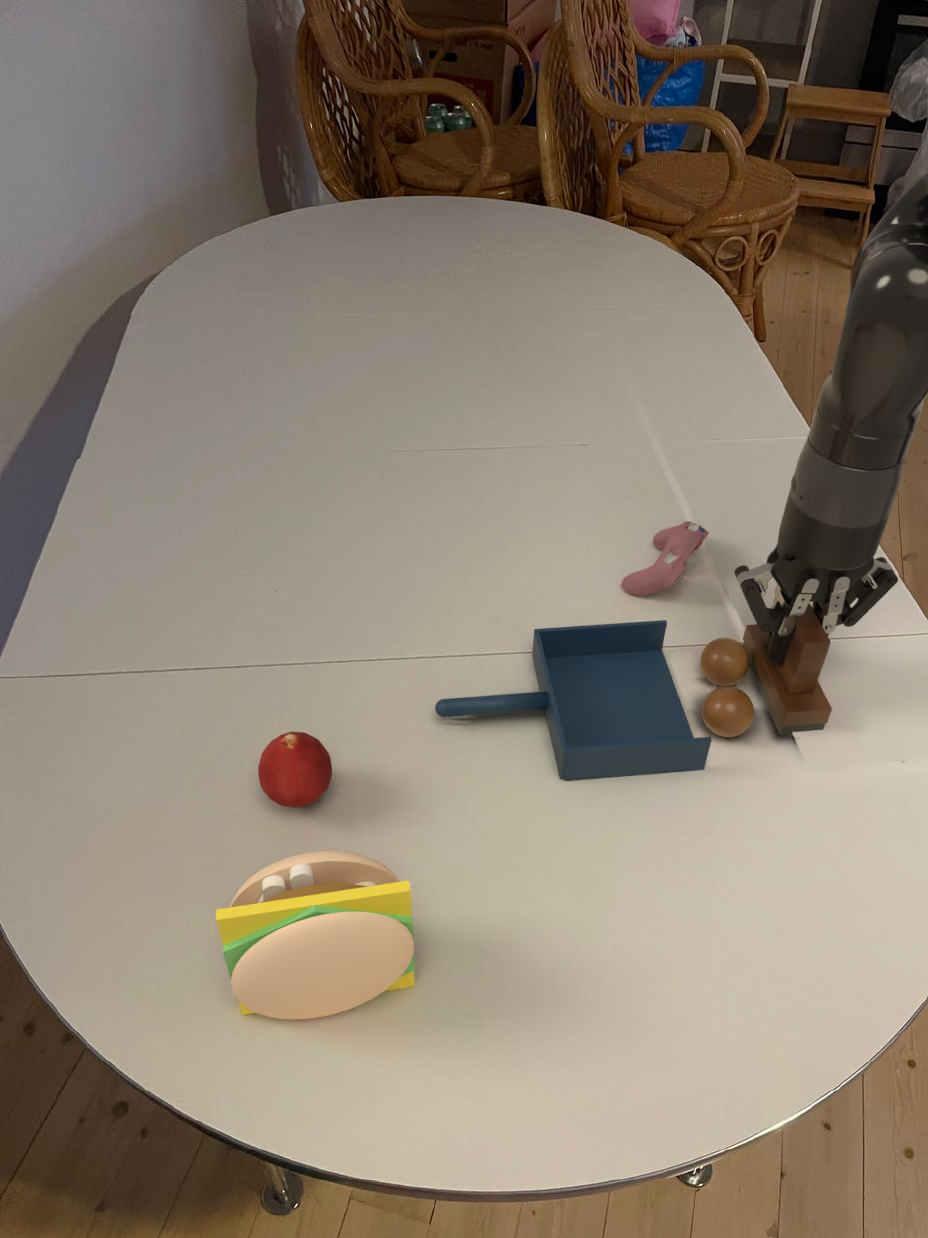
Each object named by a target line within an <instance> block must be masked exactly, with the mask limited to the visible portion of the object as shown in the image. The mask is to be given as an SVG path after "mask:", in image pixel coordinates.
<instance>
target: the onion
mask: <svg viewBox="0 0 928 1238" xmlns="http://www.w3.org/2000/svg"><path fill="white" fill-rule="evenodd" d="M260 754H261V755H260V758H259V763H258V766H257V771H258V773H257V774H258V779H259V784H260V788H261V789H262V791H263V793H264V794H265V795H266V797H267V798H268V799H269V800H270V801H272V802H274V803H276V804H278V805H280V806H282V807H288V808H298V807H299V808H300V807H306V806H309V805H310V804H312V803H314V802H317V801H319V799H320V798H321V797H322V796H323V795H324V794H325V792H326V791H327V790H328V789H329V786H330V783H331V780H332V775H333V766H332V759H331V755H330V752H329V751H328V750H327V748H326V747H325V746H324V744H323V743H322V742H321V741H320V740H319V738H317V737H315V736H313V735H311V734H309V733H307V732H304V731H288V732H285V733H282V734H280V735H278V736H277V737H275V738H273V739H272V740H270V742H269V743H268V744H267V745H266V746H265V748H264V749H263V750H262V753H260Z"/></svg>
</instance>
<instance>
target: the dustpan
mask: <svg viewBox="0 0 928 1238" xmlns="http://www.w3.org/2000/svg"><path fill="white" fill-rule="evenodd" d="M667 626H668V621H667V620H666V619H662V620H661V619H659V620H647V621H632V622H618V623H617V622H616V623H601V624H588V625H587V624H586V625H572V626H558V627H557V626H556V627H544V628H543V627H542V628H534V629H533V640H532V642H533V643H532V651H531V653H532V654H531V657H532V662H533V667H534V671H535V674H536V679H537V685H538V688H539V691H534V692H519V693H517V692H516V693H504V694H491V695H478V696H477V695H475V696H464V697H451V698H441V699H439V700H438V701H437V702H436V703H435V705H434V710H435V713H436V715H437V716H438V717H440V718H453V717H454V718H455V717H466V716H467V717H469V716H481V715H482V716H483V715H494V714H495V715H496V714H506V713H507V714H509V713H520V712H534V711H535V712H536V711H544V713H545V719H546V724H547V727H548V732H549V736H550V740H551V744H552V750H553V752H554V758H555V764H556V766H557V771H558V775H559V779H560V780H564V782H569V781H582V780H583V781H584V780H594V779H595V780H596V779H606V778H618V777H620V778H621V777H631V776H643V775H644V776H645V775H655V774H657V775H658V774H667V773H668V774H669V773H681V772H682V773H683V772H693V771H703V770H704V771H705V768H706V763H707V759H708V755H709V751H710V748H711V744H712V738H711V736H703V737H694V735H693V734H694V733H693V732H692V729H691V726H690V724H689V721H688V718H687V715H686V712H685V710H684V707H683V704H682V702H681V699H680V696H679V693H678V690H677V688H676V685H675V682H674V679H673V677H672V674H671V670H670V668H669V666H668V662H667V660H666V657H665V654H664V652H663V646H664V641H665V637H666V630H667ZM605 777H606V778H605Z"/></svg>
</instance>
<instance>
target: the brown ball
mask: <svg viewBox="0 0 928 1238" xmlns="http://www.w3.org/2000/svg"><path fill="white" fill-rule="evenodd" d="M699 665H700V670H701V672H702V674H703V675H704V677H705V678H706V679H707V680H708V681H709V682H711V683H712V684H714V685H717V686H719V687H723V686H734V685H737V684H738V683H740V682H741V681H742V680H744V678H746V676H747V675H748V672H749V670H750V667H749V666H750V658H749V654H748V652H747V650H746V649H745V647H744V646H743V643H741V642H740V641H738V640H736V639H733V638H730V637H718V638H716V639H713V640H712V641H710V642H709V643H708V644H706V646H704V648H703V650H702V652H701V653H700V659H699Z"/></svg>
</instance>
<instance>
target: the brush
mask: <svg viewBox="0 0 928 1238" xmlns="http://www.w3.org/2000/svg"><path fill="white" fill-rule="evenodd" d="M775 597H776V596H774V599H773V603H774V600H775ZM773 603H772V604H773ZM766 633H767V632H761V631H760V629H759V627H758V625H757V623H754V624H753V623H752V624H746V625H745V628H744V632H743V637H742V640H743V642H742V645H743V646H744V647H745V649H746V650H747V652H748V654H749V658H750V666H749V670H750V671H751V673H752V676H753V678H754V680H755V683H756V685H757V687H758V689H759V691H760V693H761V696H762V698H763V700H764V702H765V706H766V707H767V709H768V711H769V713H770V717H771V718H772V721H773V723H774V725H775V727H776V730H777V732H778V734H779V735H780V736H788V735H793V734H794V733H798V732H801V733H802V732H812V731H813V732H814V731H822V730H824V728H825V725H826V724H828V722H829V719H830V716H831V714H832V711H833V708H832V706H831V704H830V702H829V700H828V698H827V696H826V694H825V692H824V691H823V688H822V686H821V684H820V682H819V678H820V675H821V672H822V669H823V666H824V664H825V660H826V657H827V655H828V652H829V649H830V647H831V643H832V642H831V640H830V638H829V636H827V634H826V632H825V630H824V629H823V627H822V625H821V623H820V621H819V619H818V617H817V616H816V614H815V612H814V610H813V608H812V604H811V602H809V604H808V606H807V608H806V611H805V613H804V615H803V617H799V618H798V620H797V622H796V624H795V627H794V629H793V631H792V633H791V635H792V637H791V641H790V644H789V647H788V650H787V654H786V657H785V660H784V663H783V665H774V664H773V662H772V660H769V658H768V655H767V653H766V651H765V649H764V645H763V644H764V640H765V637H766Z"/></svg>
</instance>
